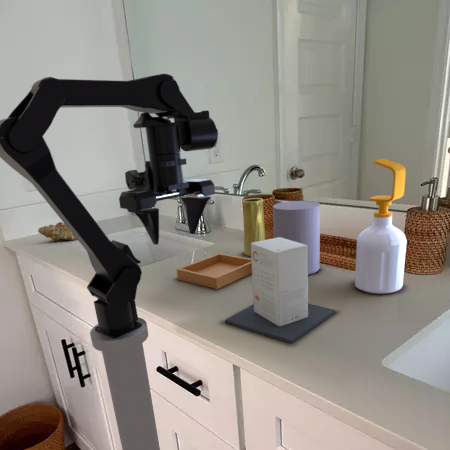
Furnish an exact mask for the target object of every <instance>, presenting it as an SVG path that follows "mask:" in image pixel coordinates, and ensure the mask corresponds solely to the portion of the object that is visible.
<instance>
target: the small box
mask: <svg viewBox="0 0 450 450" xmlns="http://www.w3.org/2000/svg"><path fill="white" fill-rule="evenodd" d="M250 257H251V258H250V259H252V273H251V277H252V294H253V296H252V297H253V304H254V312H255V313H257V314H259V315H261V316H262V317H264V318H266V319H267V320H269V321H271V322H272V323H274V324H276V325H277V326H283V325H286V324H289V323H292V322H295V321H298V320H301V319H304V318H307V317H308V304H309V275H308V245H305V244H301V243H298V242H294V241H291V240H288V239H284V238H281V237H277V238H274V237H273V238H269V239H266V240H263V241H258V242H253V243H251V256H250Z"/></svg>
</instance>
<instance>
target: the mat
mask: <svg viewBox="0 0 450 450" xmlns="http://www.w3.org/2000/svg"><path fill="white" fill-rule="evenodd" d="M335 312H336V310H335V309H332V308H329V307H325V306H321V305H317V304H312V303H308V317H307V318H304V319H301V320H298V321H295V322H292V323H289V324H286V325H283V326H277V325H276V324H274V323H272V322H271V321H269V320H267V319H266V318H264V317H262V316H261V315H259V314H257V313H255V312H254V303H253V304H252V305H250V306H248V307H246V308H244V309H242V310H240V311H238V312H236V313H235V314H233V315H231V316H230V317H228V318H226V319H224V324H228V325H231V326H235V327H237V328H240V329H244V330H246V331H250V332H253V333H256V334H259V335H263V336H265V337H269V338H272V339H275V340H278V341H281V342H285V343H287V344H293V343H294V342H296V341H297V340H298V339H300V338H302V337H303V336H304V335H305V334H307V333H308V332H310V331H312V330H313V329H314V328H316V327H317V326H318V325H320V324H321V323H322V322H324V321H325V320H327V319H328V318H330V317H332V315H334V314H335Z"/></svg>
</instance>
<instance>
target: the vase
mask: <svg viewBox="0 0 450 450" xmlns="http://www.w3.org/2000/svg"><path fill="white" fill-rule="evenodd" d="M242 212H243V213H242V216H243V217H242V218H243V254H244V256H248V257H251V243H253V242H258V241H263V240H267V239H266V230H265V214H264V199H263V198H261V197H251V198H245V199H242Z"/></svg>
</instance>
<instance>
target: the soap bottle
mask: <svg viewBox="0 0 450 450" xmlns="http://www.w3.org/2000/svg"><path fill="white" fill-rule="evenodd" d="M373 164H375V165H376V166H380V167H383V168H385V169H387V170H390V171H391V172H392V177H393V178H392V189H391V190H392V192H391V193H392V194H391V195H381V194H380V195H379V194H378V195H374V196H370V197H369V198H368V201H370V202H375V205H376V206H378V211H374V212H373V222H372V225H370V226H368V227H366V228H365V229H363V230H362V231H361V232H360V233H358V235H357V238H356V253H355V275H354V276H355V277H354V278H355V279H354V286H355V287H356V288H357V289H358V290H360V291H363V292H365V293H370V294H377V295H379V294H382V295H383V294H392V293H395V292H398V291H400V290H401V289H402V288H403V285H404V276H405V275H404V274H405V261H406V252H407V243H408V242H407V241H408V240H407V238H406V235H405V233H404V232H403V230H401V229H399V228H398V227H396V226H394V225H393V224H392V223H393V212H392V211H389V206H391V205H392V202H393V201H396V200H398V199H401V198H402V197H403V196H404V195H405V186H406V177H407V176H406V175H407V170H406V167H405V166H404V165H403V164H401V163H398V162H395V161H392V160H391V159H387V158H379V159H375V160H374V161H373Z"/></svg>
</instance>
